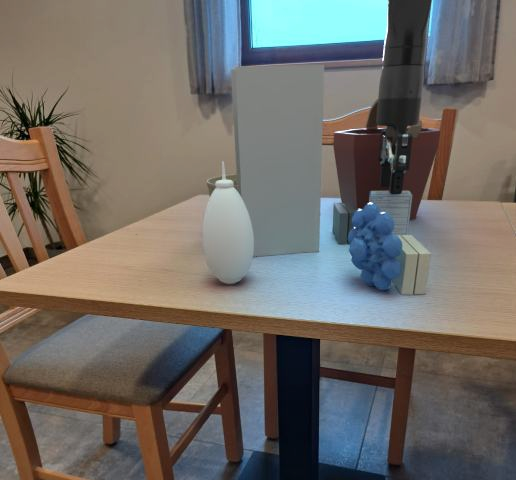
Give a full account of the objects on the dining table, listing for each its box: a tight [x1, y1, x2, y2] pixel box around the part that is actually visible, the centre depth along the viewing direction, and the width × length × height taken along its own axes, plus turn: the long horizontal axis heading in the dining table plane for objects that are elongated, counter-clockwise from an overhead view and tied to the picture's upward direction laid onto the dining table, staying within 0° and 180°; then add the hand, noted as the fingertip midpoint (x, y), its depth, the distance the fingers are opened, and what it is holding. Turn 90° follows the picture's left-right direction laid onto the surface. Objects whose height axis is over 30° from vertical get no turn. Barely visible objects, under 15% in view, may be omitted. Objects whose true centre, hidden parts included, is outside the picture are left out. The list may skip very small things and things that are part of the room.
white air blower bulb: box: [201, 160, 254, 285], centre depth 69 cm, size 8×8×18 cm
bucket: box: [332, 98, 441, 221], centre depth 105 cm, size 24×22×25 cm
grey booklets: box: [332, 202, 356, 245], centre depth 93 cm, size 3×10×6 cm, turn 179°
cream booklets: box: [392, 234, 432, 296], centre depth 69 cm, size 3×10×6 cm, turn 179°
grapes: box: [348, 203, 403, 291], centre depth 67 cm, size 12×7×12 cm, turn 23°
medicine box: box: [369, 191, 412, 236], centre depth 92 cm, size 8×4×9 cm, turn 80°
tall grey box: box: [230, 64, 325, 258], centre depth 81 cm, size 14×6×30 cm, turn 100°
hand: (390, 190), depth 90 cm, fingers open, 8 cm apart
